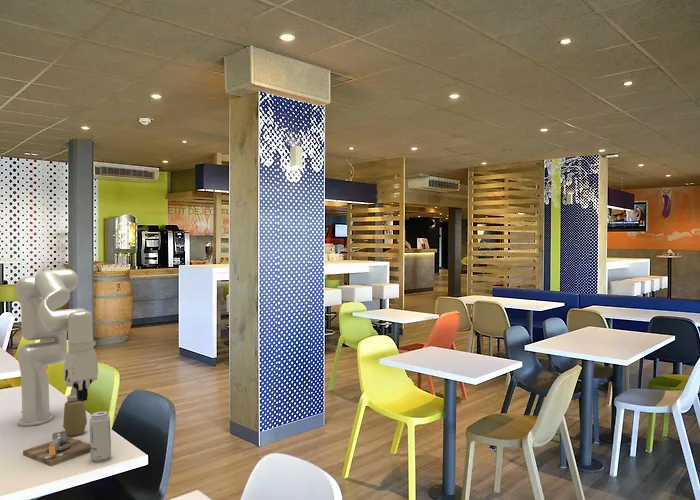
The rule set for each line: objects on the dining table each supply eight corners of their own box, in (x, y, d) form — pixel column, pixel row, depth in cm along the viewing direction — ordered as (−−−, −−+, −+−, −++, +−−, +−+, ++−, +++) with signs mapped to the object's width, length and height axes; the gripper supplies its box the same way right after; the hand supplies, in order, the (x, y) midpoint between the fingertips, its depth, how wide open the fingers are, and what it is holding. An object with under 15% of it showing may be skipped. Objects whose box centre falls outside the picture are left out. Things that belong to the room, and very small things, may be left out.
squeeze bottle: (77, 438, 194) (75, 389, 194) (58, 436, 196) (56, 388, 196) (92, 430, 202) (90, 383, 202) (73, 429, 204) (72, 382, 203)
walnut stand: (23, 454, 179) (23, 449, 179) (67, 440, 192) (67, 435, 192) (51, 466, 170) (50, 460, 170) (95, 449, 182) (95, 444, 182)
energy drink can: (89, 458, 175) (87, 413, 175) (108, 453, 178) (107, 409, 178) (93, 464, 170) (91, 417, 170) (113, 459, 174) (111, 413, 173)
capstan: (49, 446, 182) (49, 432, 182) (72, 443, 184) (71, 429, 184) (40, 460, 170) (39, 446, 170) (64, 457, 172) (63, 442, 172)
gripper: (95, 342, 190) (96, 393, 190) (52, 350, 177) (54, 404, 178) (107, 344, 186) (109, 396, 186) (64, 352, 173) (66, 408, 173)
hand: (82, 400), depth 182 cm, fingers closed
